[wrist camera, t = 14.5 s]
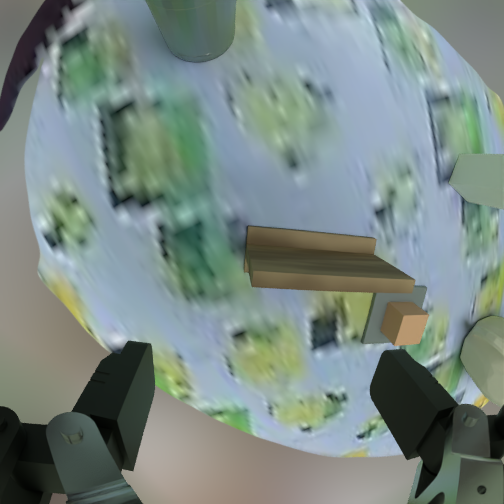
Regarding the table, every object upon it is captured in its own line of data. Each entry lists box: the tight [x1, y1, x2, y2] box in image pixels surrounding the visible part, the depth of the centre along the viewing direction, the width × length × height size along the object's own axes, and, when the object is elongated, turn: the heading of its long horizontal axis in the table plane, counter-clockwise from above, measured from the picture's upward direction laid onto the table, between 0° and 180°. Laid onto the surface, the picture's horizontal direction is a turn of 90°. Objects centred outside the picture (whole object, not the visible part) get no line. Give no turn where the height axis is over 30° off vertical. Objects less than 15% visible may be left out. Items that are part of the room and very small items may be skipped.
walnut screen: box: [244, 226, 415, 293], centre depth 34 cm, size 6×18×12 cm, turn 84°
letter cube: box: [380, 302, 429, 346], centre depth 40 cm, size 5×5×5 cm
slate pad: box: [361, 286, 427, 344], centre depth 43 cm, size 10×10×1 cm
